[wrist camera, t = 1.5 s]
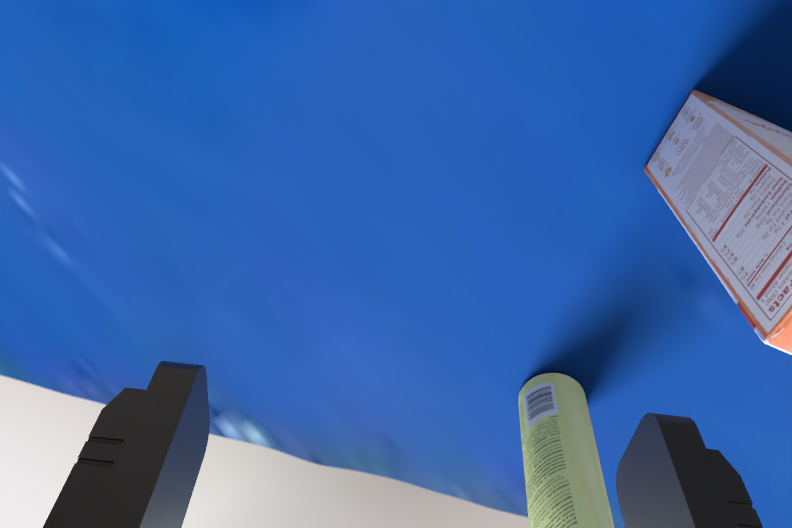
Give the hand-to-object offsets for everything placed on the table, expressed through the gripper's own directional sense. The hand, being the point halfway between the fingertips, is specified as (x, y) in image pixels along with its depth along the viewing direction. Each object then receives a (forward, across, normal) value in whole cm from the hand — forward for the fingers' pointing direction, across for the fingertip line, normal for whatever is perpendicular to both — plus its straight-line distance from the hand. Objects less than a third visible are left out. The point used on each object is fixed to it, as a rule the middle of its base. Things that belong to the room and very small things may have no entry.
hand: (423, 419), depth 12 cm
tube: (+27, +14, -27) cm, 41 cm away
